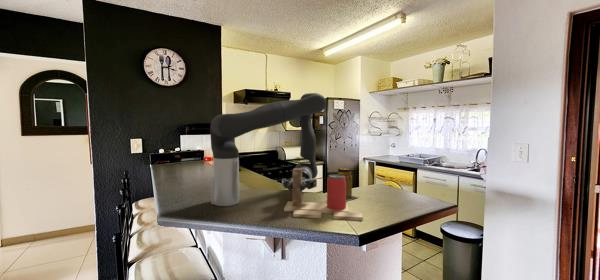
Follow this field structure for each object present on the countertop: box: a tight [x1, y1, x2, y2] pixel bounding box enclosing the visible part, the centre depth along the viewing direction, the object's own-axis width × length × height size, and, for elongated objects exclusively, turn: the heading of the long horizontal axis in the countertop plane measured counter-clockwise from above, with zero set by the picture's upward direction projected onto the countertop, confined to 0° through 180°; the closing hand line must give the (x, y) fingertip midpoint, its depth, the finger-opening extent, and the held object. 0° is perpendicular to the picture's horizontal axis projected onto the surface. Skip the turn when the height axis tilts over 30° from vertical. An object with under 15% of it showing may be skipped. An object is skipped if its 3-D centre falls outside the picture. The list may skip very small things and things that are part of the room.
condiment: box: [337, 167, 359, 202], centre depth 107 cm, size 7×8×12 cm
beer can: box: [326, 173, 347, 210], centre depth 91 cm, size 7×7×12 cm
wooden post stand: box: [283, 167, 350, 215], centre depth 92 cm, size 22×8×14 cm, turn 83°
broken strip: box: [292, 210, 364, 221], centre depth 85 cm, size 22×4×1 cm, turn 83°
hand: (295, 188), depth 90 cm, fingers open, 3 cm apart
